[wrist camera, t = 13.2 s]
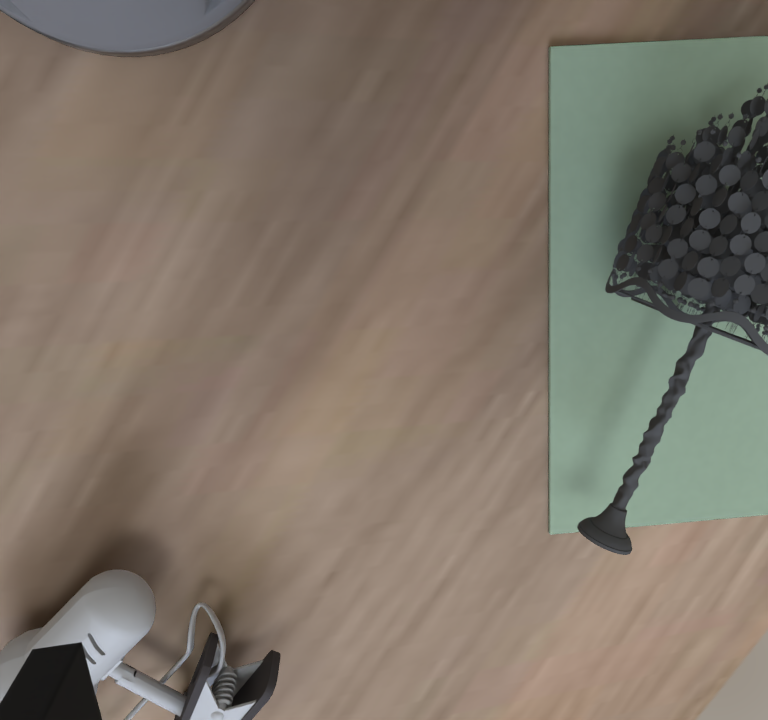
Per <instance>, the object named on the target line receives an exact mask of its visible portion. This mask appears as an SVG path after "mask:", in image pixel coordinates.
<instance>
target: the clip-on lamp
mask: <svg viewBox="0 0 768 720" xmlns="http://www.w3.org/2000/svg"><path fill="white" fill-rule="evenodd" d="M200 607H203V608H204V609H205V610H206V612H207V613H208V615H209V616H210V618H211V620H212V622H213V624H214V626H215V629H216V631H217V634H215V633H212V632H211V633H210V635H209V638H208V640H207V643H206V645H205V647H204V650H203V652H202V655H201V657H200V660H199V662H198V665H197V667H196V670H195V672H194V675H193V677H192V680H191V682H190V684H189V687H188V689H187V692H184V694H181V693H179V692H177V691H176V690H174V689H172V688H170V687H168V686H166V685H164V683H165V682H166V681H167V680H168V679H169V678H170V677H171V676H172V675H173V673H174V672H175V671H176V670H177V669H178V668H179V667H180V666H181V665H182V664H183V662H184V661H185V660H186V659H187V658H188V656H189V655H190V654H191V652H192V651H193V649H194V635H195V623H196V617H197V612H198V610H199V608H200ZM155 612H156V603H155V597H154V594H153V592H152V590H151V588H150V586H149V585H148V584H147V582H146V581H145V580H144V579H143V578H141V577H140V576H139V575H137V574H135V573H132V572H130V571H127V570H119V569H115V570H109V571H104V572H102V573H100V574H98V575H96V576H94V577H92V578H91V579H90V580H89V581H88V582H87V583H86V584H85V585H84V586H83V587H82V588H81V589H80V590H79V591H78V592H77V593H76V594H75V595H74V596H73V597H72V598H71V599H70V600H69V601H68V602H67V603H66V604H65V605H64V607H63V608H62V609H61V610H60V611H59V612H58V613H57V614H56V615H55V616H54V617H53V618H52V619H51V620H50V621H49V622H48V623H47V624H46V625H45V626H44V627H41V628H37V629H33V630H29V631H27V632H25V633H23V634H21V635H20V636H18V637H16V638H15V639H13V640H12V641H10V642H9V643H8V644H7V645H5V647H4V648H3V649H2V650H1V652H0V703H1V701H2V699H3V698H4V696H5V694H6V693H7V691H8V689H9V688H10V686H11V684H12V683H13V681H14V679H15V678H16V676H17V674H18V673H19V671H20V669H21V668H22V666H23V664H24V663H25V661H26V659H27V657H28V656H29V654H30V652H31V651H32V649H38V648H45V647H51V646H58V645H65V644H72V643H79V642H82V645H83V649H84V653H85V657H86V661H87V664H88V668H89V672H90V676H91V680H92V683H93V687H94V691H95V695H96V692H97V687H98V683H99V680H100V679H101V680H104V679H105V678H106V677H107V676H110V677H112V678H114V679H115V683H117V684H118V685H120V686H122V687H124V688H126V689H128V690H130V691H132V692H134V693H136V694H137V695H139V696H141V697H143V699H142V700H141V701H140V702H139V703H138V704H137V705H136V707H135V708H134V709H133V710H132V711H131V712H130V713H129V714H128V715H127V716H126V718H125V719H124V720H131V718H132V717H133V716H134V715H135V714H136V713H137V712H138V711H139V710H140V709H141V708H142V706H143V705H144V704H145V703H146V702H147V701H148V700H149V701H151V702H153V703H155V704H157V705H158V706H160V707H162V708H164V709H166V710H168V711H170V712H172V713H174V714H176V715H175V719H174V720H252V719H253V718H254V716H255V715H256V714H257V713H258V712H259V711H260V709H261V708H262V707H263V706H264V705H265V704H266V703H267V701H268V700H269V699H270V697H271V696H272V694H273V691H274V689H275V686H276V682H277V676H278V670H279V663H280V653H278V652H276V651H273V650H271V651H270V652H269V653H268V654H267V656H266V657H265V658H264V659H263V660H260V661H257V662H253V663H250V664H247V665H243V666H240V667H236V668H232V667H230V666H228V665H227V663H226V660H225V653H226V640H225V635H224V632H223V629H222V627H221V624H220V622H219V620H218V618H217V617H216V615H215V613H214V612H213V610H212V609H211V608H210V607H209V606H208V605H207V604H206V603H202V602H199V603H198V604H196V605H195V607H194V609H193V612H192V615H191V619H190V624H189V631H188V640H187V651H186V653H185V654H184V655H183V656H182V657H181V658H180V660H179V661H178V662H177V663H176V664H175V665H174V666H173V667H172V668H171V669H170V670H169V671H168V672H167V674H166V675H165V676H164V677H163V678H162V679H161V680H160V681H157V680H155V679H153V678H151V677H149V676H148V675H146V674H144V673H142V672H140V671H138V670H136V669H135V668H133V667H131V666H129V665H127V664H125V663H123V662H122V661H123V658H124V656H125V655H126V654H127V653H128V652H129V651H130V650H131V649H132V648H133V647H134V646H135V645H136V644H137V643H138V642H139V641H140V640H141V639H142V638H143V637H144V636H145V635H146V634H147V633H148V632H149V630H150V628H151V626H152V625H153V622H154V618H155ZM218 640H219V641H220V646H219V644H218ZM211 685H213V687H212V690H211V688H210V686H211Z"/></svg>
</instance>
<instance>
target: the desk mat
mask: <svg viewBox="0 0 768 720" xmlns="http://www.w3.org/2000/svg"><path fill="white" fill-rule="evenodd" d="M767 83H768V36H754V37H734V38H713V39H693V40H672V41H651V42H631V43H610V44H589V45H569V46H551V47H549V533H550V534H561V533H572V532H579V530H578V528H577V526H578V523H579V522H580V521H582V520H584V519H585V518H588V517H596V516H598V515H599V514H601V513H602V512H603V511H604V510H605V509H606V508H607V507H608V505H609V504H610V503H612V502H613V500H614V497H615V495H616V493H617V491H618V488H619V487H620V486H621V485H622V484H623V479H622V478H623V475H624V474H625V472H626V471H627V470H628V469H629V468H630V467H631V466H633V465H634V464H633V460H632V458H633V457H634V456H636V455H637V454H638V452H639V445H640V443H641V442H642V441H643V433H644V432H646V431H647V430H648V427H649V422H650V420H651V419H652V418H653V417H655V416H656V414H657V408H658V407H659V406H660V405H661V403H662V396H663V395H664V393H666V392H667V391H668V389H669V384H668V381H669V379H670V377H672V376H673V375H674V371H675V367H676V362H677V361H678V359H680V358H681V357H682V356H683V355H684V354H685V353H686V350H687V346H688V344H689V342H690V340H691V339H692V337H693V332H694V329H695V325H693V324H690V323H684V322H679V321H676V320H673V319H670V318H668V317H667V316H665V315H663V314H662V313H661V312H660V311H657V310H655V309H652V308H650V307H647V306H645V305H643V304H640V303H638V302H635V301H633V300H631V297H621V296H618V295H617V294H616V293H607V292H606V291H605V287H606V283H607V281H608V278H609V276H610V274H611V272H612V270H613V269H615V268H613V264H614V259H615V257H616V255H617V254H618V244H619V243H620V241H621V240H623V239H625V236H626V231H627V227H628V225H629V224H630V223H631V221H632V215H633V212H634V211H635V209H636V208H637V204H638V201H639V199H640V195H641V193H642V191H643V190H644V189H645V188H647V186H648V184H647V182H648V178H649V176H650V172H651V170H652V169H653V166H654V163H655V162H656V159H657V156H658V154H659V153H660V152H661V151H662V150H664V149H665V148H666V146H667V145H668V143H667V140H669V139H670V137H671V136H673V135H674V137H675V139H674V140H673V141H672V143H671V144H670V145H673V144H674V145H675V146H676V149H675V150H671V154H672V153H674V152H680V153H681V152H682V154H683V155H684V157H686V155H687V154H688V153H689V152H690V150H691V148H692V146H693V143H694V142H695V144H694V147H693V149H695V147H696V143H697V142H696V132H697V130H701V129H703V128H707V127H709V124H708V122H709V121H710V120H711V118H712V117H714V116H715V117H716V121H715V122H713V124H714V125H715V126H716V127H718V128H719V129H720V130H721V129H722V128H723V127H724V126H725V124H726V126H727V127H728V126H729V125H730V126H729V127H728V133H729V131H730V130H731V129H732V127H733V125H734V123H735V122H737V121H738V120H742V118H743V115H742V113H741V107H742V105H743V103H744V102H746V101H748V100H753V98H755V96H762V95H763V93H764V95H763V96H762V97H764V99H765V100H767V99H768V89H766V91H765V89H764V86H765V85H767ZM758 88H761V89H762V92H761V93H757V89H758ZM764 91H765V92H764ZM757 94H758V95H757ZM761 99H762V98H761ZM732 112H733V114H734V118H732V119H730V118H729V114H732ZM721 113H722V116H723V118H722V119H721V120H719V119H718V118H717V116H718V115H719V114H721ZM765 116H766V113H765V111H764V112H763V113H762V114H761V115H759V116H756V117H755V118H753V122H752V130H751V133H750V134H749V135H748V136H747V137H745V144H744V146H743V148H742V150H741V152H740V153H741V154H742V153H743V152H744V151H746V149H747V147H748V145H749V143H750V141H751V140H752V133H753V131H754V130H755V126H756V123H757V121H758V120H759V119H760V118H761V117H765ZM729 120H730V121H729ZM745 120H747V121H749V119H748V118H747V119H745ZM718 121H719V122H718ZM728 121H729V123H728ZM717 122H718V124H719V126H718V124H716V123H717ZM744 122H745V121H744ZM713 124H712V125H713ZM715 129H716V128H715ZM728 133H727V137H728ZM684 139H685V141H686V144H685V145H681V141H682V140H684ZM693 139H694V140H693ZM692 140H693V143H692ZM724 141H726V140H724ZM727 142H728V139H727ZM719 143H720V142H719ZM717 144H718V143H717ZM766 145H768V143H766V144H764V146H766ZM681 146H682V147H681ZM718 146H720V147H724V149H725V150H726V149H727V148H731V147H732V146H731V145H730V144H729V142H728V145H727V146H723V145H722V144H721V145H718ZM729 146H730V147H729ZM764 146H763V147H764ZM680 148H681V149H682V150H681V149H680ZM693 149H692V150H693ZM720 149H721V148H720ZM757 152H758V151H757ZM757 152H756V153H755V157H756V154H757ZM678 155H679V154H678ZM738 160H739V158H738ZM760 162H761V161H760ZM684 163H685V161H684ZM709 164H711V163H709ZM757 165H759V164H758V163H757ZM762 165H763V163H762ZM684 166H685V165H684ZM736 167H737V166H736ZM755 167H756V166H755ZM760 167H761V166H760ZM671 169H672V168H671ZM671 172H672V171H671V170H670V175H671ZM665 174H666V172H665V173H664V174H663V176H662V178H664V176H665ZM760 179H762V177H761V178H760ZM726 184H727V183H726ZM725 186H726V185H725ZM725 188H726V189H727V191H728V188H729V186H726V187H725ZM664 189H665V188H664ZM668 190H669V189H668ZM740 190H741V189H739V190H738V191H740ZM665 191H666V189H665ZM675 191H676V190H675ZM675 191H674V192H673V194H674V193H675ZM671 192H672V191H671ZM671 192H669V191H666V193H667V195H666V198H667V197H668V196H669V195H671ZM665 206H666V204H665ZM665 206H664V207H665ZM664 207H663V208H662V210H661V209H660V211H663V209H664ZM653 209H655V208H653ZM685 209H686V206H685ZM667 210H668V208H667V209H666V211H667ZM700 210H701V209H700ZM649 211H650V208H649V210H648V212H647V213H649ZM652 211H653V210H652ZM658 212H659V211H658ZM664 215H665V214H664ZM688 218H689V216H688ZM662 225H663V222H662V224H660V226H661V227H662ZM657 227H658V226H657ZM641 229H642V228H641V227H640V229H639V231H638V232H637V233H638V235H637V233H636V234H635V235H636V236H638V237H637V239H641V237H639V234H640V232H641ZM637 241H638V240H637ZM641 242H642V245H643V244H647V243H644V242H643V241H642V240H641ZM659 243H660V242H659ZM648 244H649V245H655V243H654V244H653V243H652V244H651V243H648ZM657 244H658V243H657ZM658 245H659V244H658ZM632 253H633V252H632ZM628 254H629V255H628ZM627 255H628V256H631V255H632V254H630V253H627ZM636 257H637V254H635V257H634V259H636ZM629 258H630V257H629ZM635 261H637V262H638V260H637V259H636V260H635ZM641 261H642V260H641ZM648 262H649V261H648ZM639 263H640V262H639ZM637 264H638V263H637ZM616 270H617V268H616ZM619 270H620V269H619ZM624 270H625V269H624ZM617 271H618V270H617ZM617 271H616V273H617ZM622 273H625V272H624V271H622ZM622 273H621V271H618V273H617V274H618V279H617V284H618V283H619V282H620V283H621V282H624V281H626V280H628V279H630V278H633V277H634V276H635V273H636V272H634V274H633V275H632V276H631V277H630V276H629V272H626V274H627V276H626V277H624V278H623V280H622V279H621V280H620V275H622ZM611 277H612V276H611ZM611 277H610V279H611V281H609V282H610V283H609V284H610V285H611V286H613V283H612V278H611ZM635 277H639V276H638V275H637V274H636V276H635ZM648 282H649V281H648ZM656 282H657V281H656ZM620 283H619V284H620ZM650 284H651V285H654V286H656V285H657V286H658V284H655V283H653V282H652V281H651V282H650ZM635 288H638V289H639V288H640V287H637V286H636V285H631V286H628V287H626V288H625V290H627V291H630V290H636V289H635ZM662 289H663V290H664V291H665V289H666V293H667V291H668V293H669V294H671V293H672V290H671V293H670V292H669V291H670V290H668V289H667V288H666V287H665V286H664V285H663V286H662ZM623 290H624V289H623ZM676 292H677V293H675V294H673V293H672V294H673V295H675V296H676V297H675V299H674V300H672V301H673V303H674V304H675V305H678V304H680V305H678V306H679V309H680V307H681V306H684V307H682V308H681V309H682V310H681V309H680V310H681V311H683V312H684V313H687V314H690V315H695V313H697V314H696V315H699V314H700V315H701V314H702V313H703V311H702V312H701V310H700V311H697V310H696V309H694V308H693V307H692V308H691V307H689V306H688V303H689V301H691V302H693V303H697V304H699V305H700V308H701V307H705V304H703V305H702V304H700V303H698V302H696V300H695V299H694V298H693V297H692V298H689V299H688V298H687V297H685V298H684V296H683V295H682V296H683V300H685V299H686V298H687V299H686V301H687V304H686V305H684V304H683V305H682V303H679V302H678V301H677V298H678V297H681V292H680V291H676ZM672 294H671V295H672ZM639 296H640V297H639ZM657 296H658V297H659V299H660V300H663V298H662V297H661V296H660V295H658V294H657ZM635 297H638V298H640V299H642V298H643V300H646V301H648V302H651V303H652V301H651V300H650V298H649V296H648V294H647V293H645V295H644V293H642V294H639V295H636V296H635ZM661 298H662V299H661ZM692 299H693V300H694V301H692ZM662 302H663V303H664V304H665V305H666V306H667V307H668V305H667V304H666V302H665V301H662ZM701 302H702V301H701ZM757 305H761V304H757ZM688 309H689V311H690V313H689V311H688V312H687V310H688ZM690 309H691V310H690ZM693 310H694V311H695V312H692V311H693ZM720 312H723V311H722V310H720ZM693 313H694V314H693ZM746 318H747V319H748V320H749V321H751V320H750V319H749V317H746ZM728 323H729V324H728ZM751 323H752V325H753V322H752V321H751ZM717 324H718V325H717ZM727 324H728V325H727ZM754 324H755V323H754ZM757 324H758V323H756V324H755V325H754V326H755V328H756V325H757ZM732 325H733V326H732ZM716 326H717V327H716ZM726 326H727V327H726ZM731 326H732V327H734V328H732V327H731ZM736 326H737V324H736V325H735V323H733V324H732V322H727V321H723V322H719V323H718V322H716V323H713V324H712V327H715V328H718V329H721V330H723V331H726V332H730V333H731V334H734V335H737V336H739V337H742V338H745V339H746V337H747V336H748V335H747V334H746V332H745V331H744V330H743V329H742V328H741V327H740V326H739V325H738V326H737V329H736V330H735V327H736ZM760 326H762V327H760V331H759V332H758V333H759V335H760V336H761V337H762V335H763V334H762V331H765V330H763V327H764V325H763V324H760ZM767 326H768V325H767ZM730 327H731V328H732V329H730ZM730 330H731V331H730ZM734 330H735V331H734ZM764 337H765V339H764ZM747 340H750V338H749V337H747ZM763 340H764V341H765V342H766V341H767V342H766V343H767V344H768V337H767V335H766V336H765V335H763ZM750 341H751V340H750ZM638 483H639V486H638V488H637V489H636V490H635V491H634V492H633V496H632V497H631V499H630V500H629V502H628V504H627V506H626V510H627V514H626V519H625V528H627V527H638V526H649V525H660V524H671V523H682V522H693V521H704V520H715V519H726V518H737V517H748V516H759V515H768V355H766V354H765V353H764V352H762V351H761V350H758V349H755V348H753V347H750V346H747V345H745V344H742V343H740V342H737V341H734V340H732V339H729V338H726V337H724V336H721V335H719V334H716V333H713V332H712V335H711V336H710V337H709V338H708V340H707V342H706V346H705V350H704V354H703V355H702V356H701V357H700V358H699V359H697V360H696V361H695V365H694V367H693V369H692V371H691V373H690V377H689V381H688V382H687V384H686V392H685V394H683V395H682V396H680V398H679V400H678V403H677V404H676V406H675V408H674V409H673V411H672V418H670V419H669V421H668V422H667V423H666V424H665V425H664V432H663V434H662V437H661V441H660V443H658V444H657V445H656V446H655V448H654V453H653V455H652V456H651V463H650V464H649V466H648V467H647V469H646V470H645V471H644V472H643V473H642V474H641V475H640V477H639V480H638Z"/></svg>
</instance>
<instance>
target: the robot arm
mask: <svg viewBox="0 0 768 720" xmlns="http://www.w3.org/2000/svg"><path fill="white" fill-rule="evenodd" d="M254 1H255V0H0V10H1V11H2V12H3V13H5V14H6V15H8V16H10V17H11V18H13V19H14V20H16V21H17V22H19V23H20V24H22V25H24V26H26V27H28V28H30V29H32V30H34V31H36V32H37V33H39V34H42V35H44V36H46V37H48V38H50V39H52V40H55V41H57V42H59V43H62V44H64V45H67V46H70V47H73V48H76V49H79V50H82V51H86V52H91V53H96V54H101V55H108V56H117V57H143V56H153V55H159V54H164V53H169V52H174V51H177V50H180V49H183V48H186V47H189V46H192V45H194V44H196V43H198V42H201V41H203V40H205V39H207V38H209V37H210V36H212V35H214V34H215V33H217V32H219V31H221V30H222V29H223V28H225V27H226V26H227V25H229V24H230V23H232V22H233V21H234V20H235V19H237V18H238V17H239V16H240V15H241V14H242V13H243V12H244V11H245V10H246V9H247V8H248V7H249V6H250V5H251V4H252V3H253V2H254ZM0 720H102V718H101V714H100V710H99V706H98V702H97V699H96V695H95V691H94V687H93V683H92V680H91V676H90V672H89V668H88V664H87V661H86V657H85V653H84V649H83V645H82V642H79V643H72V644H65V645H58V646H51V647H45V648H38V649H32V651H31V652H30V654H29V656H28V657H27V659H26V661H25V663H24V664H23V666H22V668H21V669H20V671H19V673H18V674H17V676H16V678H15V679H14V681H13V683H12V684H11V686H10V688H9V689H8V691H7V693H6V694H5V696H4V698H3V699H2V701H1V703H0Z"/></svg>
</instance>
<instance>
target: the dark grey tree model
mask: <svg viewBox="0 0 768 720" xmlns="http://www.w3.org/2000/svg"><path fill="white" fill-rule="evenodd" d="M764 89H765V91H766V89H768V83H767V85H765V86H764ZM765 91H764V92H765ZM761 92H762V89H761V88H758V89H757V93H761ZM757 95H758V94H757ZM763 95H764V93H763ZM763 95H762V96H763ZM762 96H755V98H753V100H748V101H746V102H744V103H743V105H742V107H741V113H742V115H743V118H742V120H738V121H737V122H735V123H734V125H733V127H732V129H731V130H730V131H729V133H728V127H729V126H730V125H729V126H728V127H727V126H726V124H725V126H724V127H723V128H722V129H721V130H720V129H719V128H718V127H716V126H715V125H714V124H713V122H715V121H716V117H715V116H714V117H712V118H711V120H710V121H709V122H708V124H709V127H707V128H703V129H701V130H697V132H696V142H697V143H696V147H695V149H693V147H694V144H695V142H694V143H693V140H694V139H693V140H692V143H693V146H692V148H691V150H690V152H689V153H688V154H687V155H686V157H684V155H683V154H682V152H681V153H680V152H674V153H672V154H671V150H675V149H676V146H675V145H674V144H673V145H670V144H671V143H672V141H673V140H674V139H675V137H674V135H673V136H671V137H670V139H669V140H667V143H668V145H667V146H666V148H665V149H664V150H662V151H661V152H660V153H659V154H658V156H657V159H656V162H655V163H654V166H653V169H652V170H651V172H650V176H649V178H648V182H647V184H648V186H647V188H645V189H644V190H643V191H642V193H641V195H640V199H639V201H638V204H637V208H636V209H635V211H634V212H633V215H632V221H631V223H630V224H629V225H628V227H627V231H626V236H625V239H623V240H621V241H620V243H619V244H618V254H617V255H616V257H615V259H614V264H613V268H615V269H613V270H612V272H611V274H610V276H609V278H608V281H607V283H606V287H605V291H606V292H607V293H616V294H617V295H618V296H621V297H631V300H633V301H635V302H638V303H640V304H643V305H645V306H647V307H650V308H652V309H655V310H657V311H660V312H661V313H662V314H663V315H665V316H667V317H668V318H670V319H673V320H676V321H679V322H684V323H690V324H693V325H695V329H694V332H693V337H692V339H691V340H690V342H689V344H688V346H687V350H686V353H685V354H684V355H683V356H682V357H681V358H680V359H678V361H677V362H676V367H675V371H674V375H673V376H672V377H670V379H669V381H668V384H669V389H668V391H667V392H666V393H664V395H663V396H662V403H661V405H660V406H659V407H658V408H657V414H656V416H655V417H653V418H652V419H651V420H650V422H649V427H648V430H647V431H646V432H644V433H643V441H642V442H641V443H640V445H639V452H638V454H637V455H636V456H634V457H633V458H632V460H633V464H634V465H633V466H631V467H630V468H629V469H628V470H627V471H626V472H625V474H624V475H623V478H622V479H623V484H622V485H621V486H620V487H619V488H618V491H617V493H616V495H615V497H614V500H613V502H612V503H610V504H609V505H608V507H607V508H606V509H605V510H604V511H603V512H602V513H601V514H599V515H598V516H596V517H588V518H585V519H584V520H582V521H580V522H579V523H578V526H577V528H578V530H579V532H580V533H581V534H582V535H583V536H584V537H586V538H587V539H588V540H590V541H591V542H593V543H594V544H596V545H598V546H600V547H602V548H604V549H606V550H608V551H611V552H614V553H617V554H622V555H627V554H630V553H631V551H632V547H631V540H630V538H629V536H628V535H627V533H626V530H625V519H626V514H627V510H626V506H627V504H628V502H629V500H630V499H631V497H632V496H633V492H634V491H635V490H636V489H637V488H638V486H639V483H638V480H639V477H640V475H641V474H642V473H643V472H644V471H645V470H646V469H647V467H648V466H649V464H650V463H651V456H652V455H653V453H654V448H655V446H656V445H657V444H658V443H660V441H661V437H662V434H663V432H664V425H665V424H666V423H667V422H668V421H669V419H670V418H672V411H673V409H674V408H675V406H676V404H677V403H678V400H679V398H680V396H682V395H683V394H685V392H686V384H687V382H688V381H689V377H690V373H691V371H692V369H693V367H694V365H695V361H696V360H697V359H699V358H700V357H701V356H702V355H703V354H704V350H705V346H706V342H707V340H708V338H709V337H710V336H711V335H712V332H713V333H716V334H719V335H721V336H724V337H726V338H729V339H732V340H734V341H737V342H740V343H742V344H745V345H747V346H750V347H753V348H755V349H758V350H761V351H762V352H764V353H765V354H766V355H768V344H767V343H766V342H767V341H766V342H765V341H764V340H763V335H765V336H766V335H767V337H768V326H767V325H768V145H766V146H764V144H766V143H768V99H767V100H765V99H764V97H762ZM761 98H762V99H761ZM764 111H765V113H766V116H765V117H761V118H760V119H759V120H758V121H757V123H756V126H755V130H754V131H753V133H752V140H751V141H750V143H749V145H748V147H747V149H746V151H744V152H743V153H742V154H741V153H740V152H741V150H742V148H743V146H744V144H745V137H747V136H748V135H749V134H750V133H751V130H752V122H753V118H755V117H756V116H759V115H761V114H762V113H763V112H764ZM717 118H718V119H719V120H721V119H722V118H723V116H722V113H721V114H719V115H718V116H717ZM729 118H730V119H732V118H734V114H733V112H732V114H729ZM747 118H748V119H749V121H747V120H745V119H747ZM729 121H730V120H729ZM729 121H728V123H729ZM744 121H745V122H744ZM718 122H719V121H718ZM718 122H717V123H716V124H718ZM712 124H713V125H712ZM718 126H719V124H718ZM715 128H716V129H715ZM727 133H728V137H727ZM727 139H728V142H729V144H730V145H731V146H732V147H731V148H727V149H726V150H725V149H724V147H720V146H718V145H721V144H722V145H723V146H727V145H728V142H727ZM724 140H726V141H724ZM719 142H720V143H719ZM717 143H718V144H717ZM685 144H686V141H685V139H684V140H682V141H681V145H685ZM763 146H764V147H763ZM681 147H682V146H681ZM729 147H730V146H729ZM720 148H721V149H720ZM680 149H681V148H680ZM692 149H693V150H692ZM681 150H682V149H681ZM757 151H758V152H757ZM756 152H757V154H756V157H755V153H756ZM678 154H679V155H678ZM738 158H739V160H738ZM684 161H685V163H684ZM760 161H761V162H760ZM709 163H711V164H709ZM757 163H758V164H759V165H757ZM762 163H763V165H762ZM684 165H685V166H684ZM736 166H737V167H736ZM755 166H756V167H755ZM760 166H761V167H760ZM671 168H672V169H671ZM670 170H671V171H672V172H671V175H670ZM665 172H666V174H665V176H664V178H662V176H663V174H664V173H665ZM761 177H762V179H760V178H761ZM726 183H727V184H726ZM725 185H726V186H729V188H728V191H727V189H726V188H725V187H726V186H725ZM664 188H665V189H666V191H669V192H671V191H672V192H671V195H669V196H668V197H667V198H666V195H667V193H666V191H665V189H664ZM668 189H669V190H668ZM739 189H741V190H740V191H738V190H739ZM675 190H676V191H675ZM674 191H675V193H674V194H673V192H674ZM665 204H666V206H665ZM664 206H665V207H664ZM685 206H686V209H685ZM663 207H664V209H663V211H660V209H661V210H662V208H663ZM649 208H650V211H649V213H647V212H648V210H649ZM653 208H655V209H653ZM667 208H668V210H667V211H666V209H667ZM700 209H701V210H700ZM652 210H653V211H652ZM658 211H659V212H658ZM664 214H665V215H664ZM688 216H689V218H688ZM662 222H663V225H662V227H661V226H660V224H662ZM657 226H658V227H657ZM640 227H641V228H642V229H641V232H640V234H639V237H641V239H637V237H638V236H636V235H635V234H636V233H637V232H638V231H639V229H640ZM637 235H638V233H637ZM637 240H638V241H637ZM641 240H642V241H643V242H644V243H647V244H643V245H642V242H641ZM659 242H660V243H659ZM648 243H651V244H652V243H653V244H654V243H655V245H649V244H648ZM657 243H658V244H659V245H658V244H657ZM632 252H633V253H632ZM627 253H630V254H632V255H631V256H628V255H629V254H628V255H627ZM635 254H637V257H636V259H637V260H638V262H637V261H635V260H636V259H634V257H635ZM629 257H630V258H629ZM641 260H642V261H641ZM648 261H649V262H648ZM639 262H640V263H639ZM637 263H638V264H637ZM616 268H617V270H618V271H621V273H622V271H624V272H625V273H622V275H620V280H621V279H622V280H623V278H624V277H626V276H627V274H626V272H629V276H630V277H631V276H632V275H633V274H634V272H636V273H635V276H636V274H637V275H638V276H639V277H635V276H634V277H633V278H630V279H628V280H626V281H624V282H621V283H620V282H619V283H620V284H619V283H618V284H617V279H618V274H617V273H618V271H617V270H616ZM619 269H620V270H619ZM624 269H625V270H624ZM616 271H617V273H616ZM611 276H612V277H611ZM610 277H611V278H612V283H613V286H611V285H610V284H609V283H610V282H609V281H611V279H610ZM648 281H649V282H648ZM651 281H652V282H653V283H655V284H658V286H657V285H656V286H654V285H651V284H650V282H651ZM656 281H657V282H656ZM631 285H636V286H637V287H640V288H639V289H638V288H635V289H636V290H630V291H627V290H625V288H626V287H628V286H631ZM663 285H664V286H665V287H666V288H667V289H668V290H670V291H669V292H670V293H671V290H672V293H673V294H675V293H677V292H676V291H680V292H681V297H678V298H677V301H678V302H679V303H682V305H683V304H684V305H686V304H687V301H686V299H687V298H688V299H689V298H692V297H693V298H694V299H695V300H696V302H698V303H700V304H702V305H703V304H705V307H701V308H700V305H699V304H697V303H693V302H691V301H689V303H688V306H689V307H691V308H692V307H693V308H694V309H696V310H697V311H700V310H701V312H702V311H703V313H702V314H701V315H700V314H699V315H696V314H697V313H695V315H690V314H687V313H684V312H683V311H681V310H682V309H681V308H682V307H684V306H681V307H680V309H681V310H680V309H679V306H678V305H680V304H678V305H675V304H674V303H673V301H672V300H674V299H675V297H676V296H675V295H673V294H672V293H671V294H672V295H671V294H669V293H668V291H667V293H666V289H665V291H664V290H663V289H662V286H663ZM623 289H624V290H623ZM642 293H644V295H645V293H647V294H648V296H649V298H650V300H651V301H652V303H651V302H648V301H646V300H643V298H642V299H640V298H638V297H635V296H636V295H639V294H642ZM657 294H658V295H660V296H661V297H662V298H663V300H660V299H659V297H658V296H657ZM682 295H683V296H684V298H685V297H687V298H686V299H685V300H683V296H682ZM639 297H640V296H639ZM662 298H661V299H662ZM662 301H665V302H666V304H667V305H668V307H667V306H666V305H665V304H664V303H663V302H662ZM692 301H694V300H693V299H692ZM701 301H702V302H701ZM757 304H761V305H757ZM690 310H691V309H690ZM720 310H722V311H723V312H720ZM688 311H689V309H688V310H687V312H688ZM692 312H695V311H694V310H693V311H692ZM689 313H690V311H689ZM693 314H694V313H693ZM746 317H749V319H750V320H751V321H752V322H753V325H752V323H751V321H749V320H748V319H747V318H746ZM723 321H727V322H732V324H733V323H735V325H736V324H737V326H738V325H739V326H740V327H741V328H742V329H743V330H744V331H745V332H746V334H747V335H748V336H747V337H749V338H750V340H751V341H750V340H747V337H746V339H745V338H742V337H739V336H737V335H734V334H731V333H730V332H726V331H723V330H721V329H718V328H715V327H712V324H713V323H716V322H718V323H719V322H723ZM754 323H755V324H756V323H758V324H757V325H756V328H755V326H754V325H755V324H754ZM728 324H729V323H728ZM728 324H727V325H728ZM760 324H763V325H764V327H763V330H765V331H762V334H763V335H762V337H761V336H760V335H759V333H758V332H759V331H760V327H762V326H760ZM717 325H718V324H717ZM732 326H733V325H732ZM732 326H731V327H732ZM737 326H736V327H735V330H736V329H737ZM716 327H717V326H716ZM726 327H727V326H726ZM731 327H730V329H732V328H734V327H732V328H731ZM735 330H734V331H735ZM730 331H731V330H730ZM764 339H765V337H764Z"/></svg>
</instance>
